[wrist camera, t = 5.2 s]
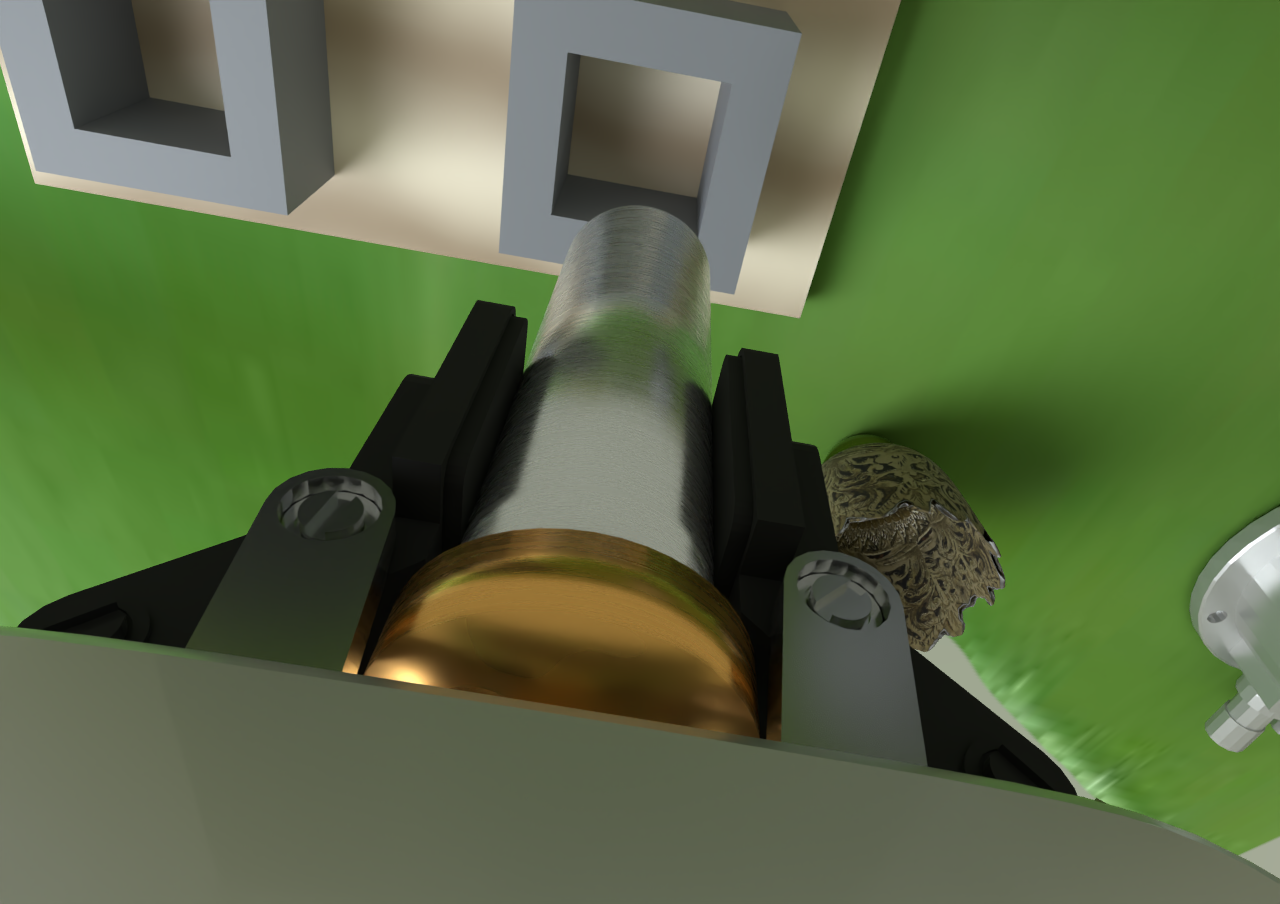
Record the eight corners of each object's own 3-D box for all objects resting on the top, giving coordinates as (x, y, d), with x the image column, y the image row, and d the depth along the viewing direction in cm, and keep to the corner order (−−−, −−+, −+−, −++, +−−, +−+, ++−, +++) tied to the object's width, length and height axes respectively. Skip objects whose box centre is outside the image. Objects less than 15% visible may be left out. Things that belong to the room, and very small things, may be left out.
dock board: (795, 300, 31) (799, 318, 30) (61, 170, 29) (35, 183, 28) (906, -59, 24) (918, -55, 23) (-53, -256, 22) (-95, -263, 21)
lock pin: (707, 372, 17) (710, 880, 9) (537, 342, 17) (361, 826, 8) (749, 204, 15) (812, 654, 6) (555, 168, 15) (341, 575, 6)
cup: (872, 545, 38) (909, 681, 32) (745, 483, 36) (756, 614, 30) (983, 437, 34) (1050, 567, 28) (846, 361, 32) (884, 482, 26)
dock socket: (334, 175, 27) (287, 215, 24) (113, 135, 27) (35, 171, 24) (318, -82, 23) (258, -75, 20) (53, -135, 23) (-52, -135, 19)
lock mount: (729, 246, 28) (734, 294, 25) (520, 208, 28) (498, 252, 25) (786, 11, 24) (801, 33, 21) (539, -38, 23) (515, -24, 20)
